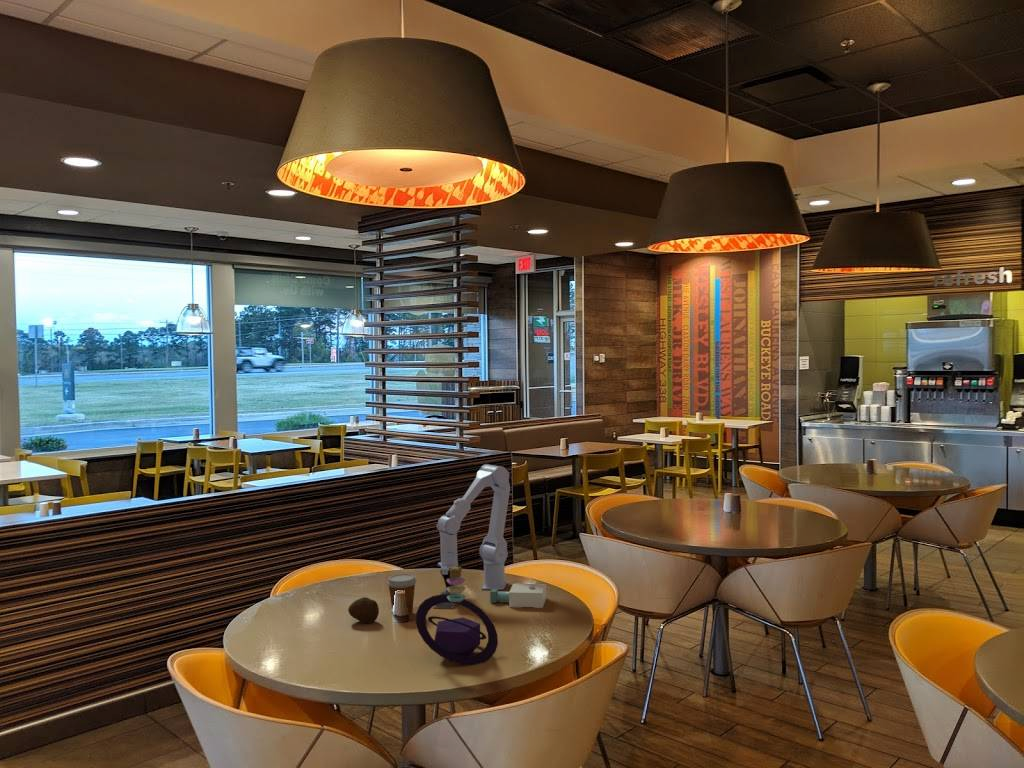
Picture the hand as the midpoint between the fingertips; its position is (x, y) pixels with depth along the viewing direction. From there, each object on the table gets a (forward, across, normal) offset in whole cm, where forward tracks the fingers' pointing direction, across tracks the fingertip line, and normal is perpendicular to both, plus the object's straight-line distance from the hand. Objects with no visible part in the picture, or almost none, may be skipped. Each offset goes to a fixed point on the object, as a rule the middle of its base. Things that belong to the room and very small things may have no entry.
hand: (450, 589), depth 275 cm
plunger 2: (+2, +7, 0) cm, 7 cm away
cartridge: (+3, +3, +23) cm, 23 cm away
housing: (+3, +3, +27) cm, 27 cm away
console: (+3, +4, 0) cm, 5 cm away
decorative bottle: (+3, +50, +14) cm, 52 cm away
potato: (+3, +26, -22) cm, 34 cm away
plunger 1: (+2, 0, 0) cm, 2 cm away
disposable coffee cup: (+3, +17, -12) cm, 21 cm away
